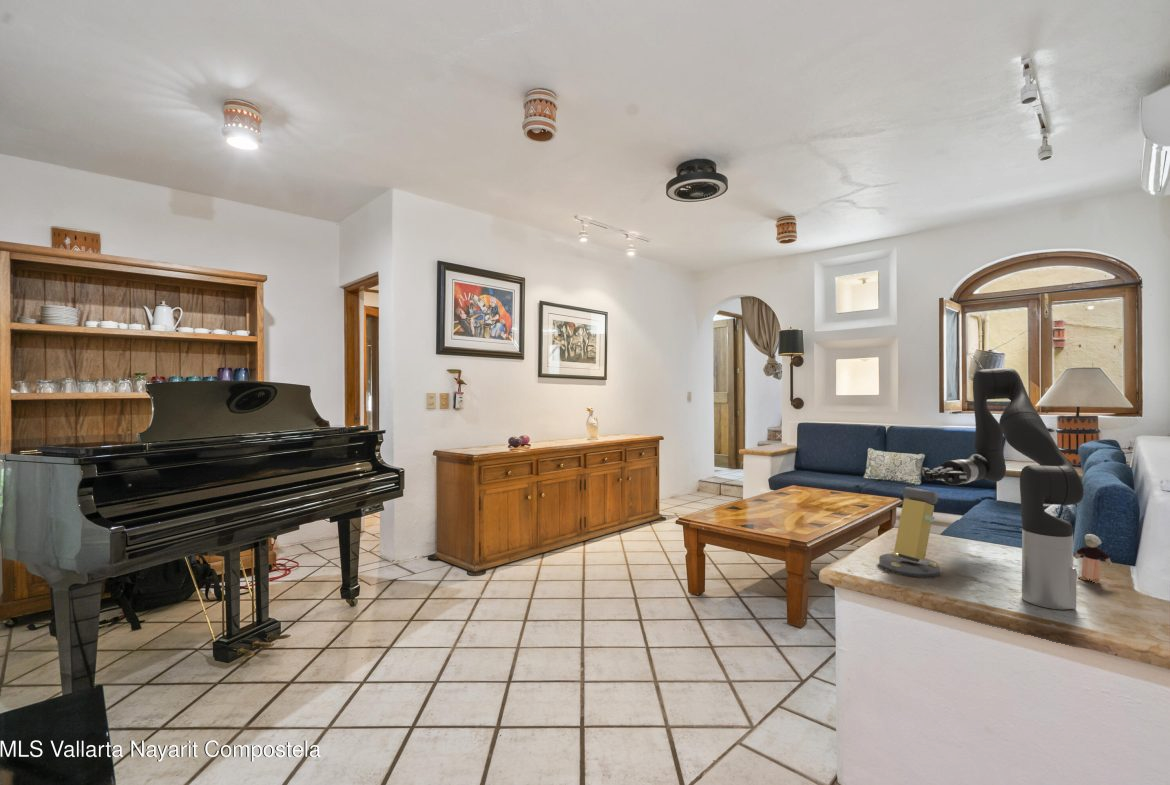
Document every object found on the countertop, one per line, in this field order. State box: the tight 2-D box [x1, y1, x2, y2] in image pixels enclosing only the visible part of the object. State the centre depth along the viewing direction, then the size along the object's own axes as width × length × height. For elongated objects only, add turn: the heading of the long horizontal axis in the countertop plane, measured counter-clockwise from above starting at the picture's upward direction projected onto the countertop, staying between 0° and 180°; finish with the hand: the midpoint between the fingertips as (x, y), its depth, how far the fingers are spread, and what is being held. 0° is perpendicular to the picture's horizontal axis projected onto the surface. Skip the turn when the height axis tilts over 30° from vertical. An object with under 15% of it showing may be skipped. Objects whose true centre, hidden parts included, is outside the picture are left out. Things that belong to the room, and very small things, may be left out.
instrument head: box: [893, 486, 939, 562], centre depth 154 cm, size 5×8×21 cm, turn 29°
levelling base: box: [878, 551, 941, 579], centre depth 153 cm, size 15×15×2 cm
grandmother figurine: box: [1073, 533, 1113, 584], centre depth 143 cm, size 8×4×13 cm, turn 37°
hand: (927, 476), depth 157 cm, fingers closed
